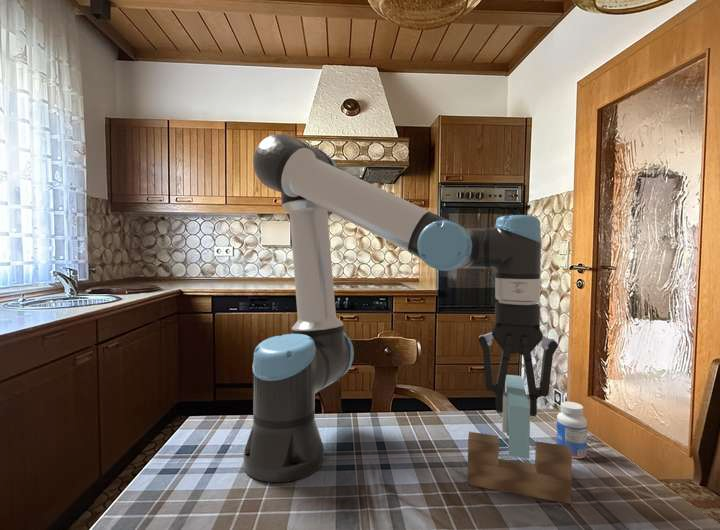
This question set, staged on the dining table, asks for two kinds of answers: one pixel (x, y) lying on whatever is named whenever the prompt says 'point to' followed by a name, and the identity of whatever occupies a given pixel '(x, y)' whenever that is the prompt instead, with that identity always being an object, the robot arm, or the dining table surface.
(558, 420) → the pill bottle
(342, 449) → the dining table surface
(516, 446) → the teal bridge block
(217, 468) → the dining table surface
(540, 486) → the brown u-shaped block
